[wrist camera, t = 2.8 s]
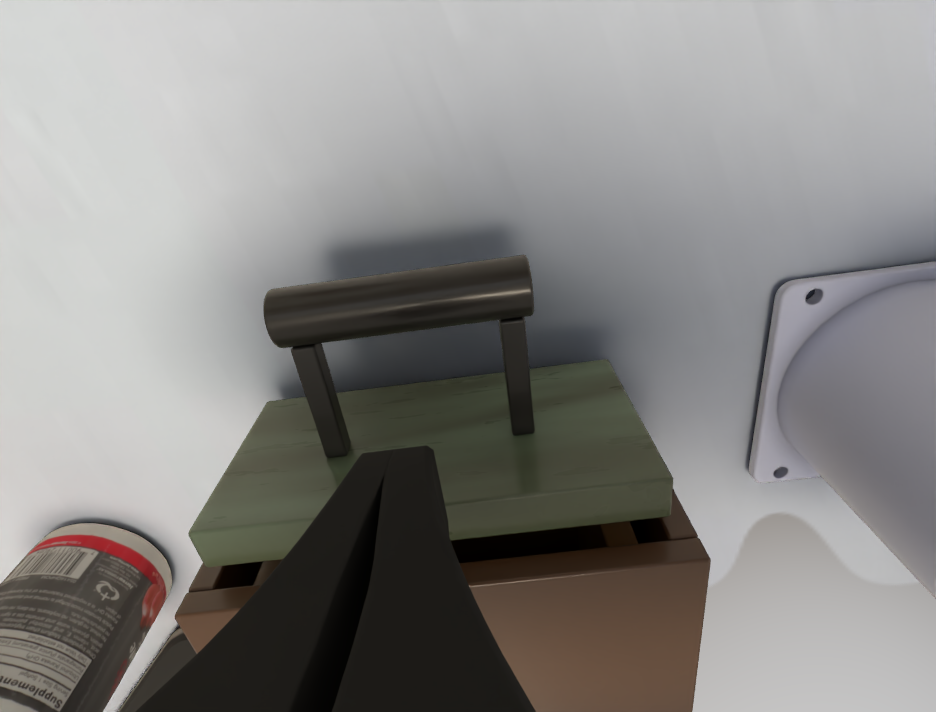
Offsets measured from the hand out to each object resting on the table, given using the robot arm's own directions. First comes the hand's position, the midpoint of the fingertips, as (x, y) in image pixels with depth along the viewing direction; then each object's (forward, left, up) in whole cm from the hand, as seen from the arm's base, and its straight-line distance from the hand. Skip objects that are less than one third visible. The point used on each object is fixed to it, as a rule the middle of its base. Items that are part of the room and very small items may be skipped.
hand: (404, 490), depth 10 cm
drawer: (0, +5, -7) cm, 9 cm away
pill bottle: (+15, +9, -8) cm, 19 cm away
